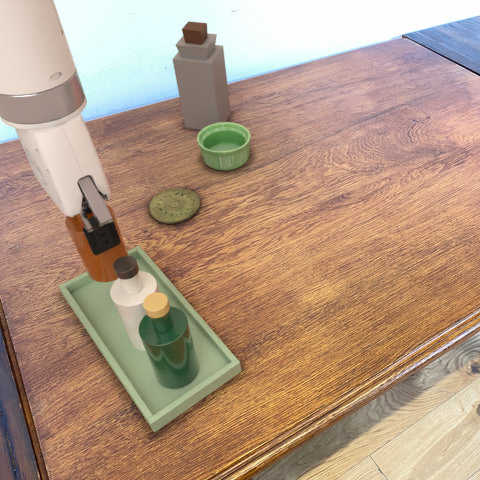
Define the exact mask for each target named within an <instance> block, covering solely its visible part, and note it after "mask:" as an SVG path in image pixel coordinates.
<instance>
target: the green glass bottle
mask: <svg viewBox="0 0 480 480" xmlns="http://www.w3.org/2000/svg"><path fill="white" fill-rule="evenodd" d="M143 307H144V309H145V312H146V315H145V316H144V317H143V318H142V320H141V322H140V324H139V335H140V338H141V340H142V343H143V345H144V348H145V350H146V353H147V356H148V358H149V361H150V363H151V366H152V368H153V371H154V373H155V376H156V378H157V381H158V382H159V383H160V384H161V385H162V386H163V387H166V388H169V389H179V388H183V387H185V386H187V385H189V384H190V383H191V382H192V381H193V380H194V379H195V378H196V376H197V375H198V372H199V361H198V357H197V354H196V350H195V346H194V342H193V339H192V335H191V331H190V327H189V323H188V320H187V317H186V315H185V313H184V312H183V311H182V310H180V309H178V308H176V307H172V306H170V304H169V301H168V298H167V296H166V295H165V294H163V293H160V292H155V293H152V294H150V295H148V296H147V297H146V298H145V299H144V302H143Z"/></svg>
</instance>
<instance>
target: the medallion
mask: <svg viewBox="0 0 480 480" xmlns="http://www.w3.org/2000/svg"><path fill="white" fill-rule="evenodd" d="M201 203H202V202H201V197H200V196H199V194H198V193H196V191H195V192H194V191H193V190H190V189H188V188H184V187H183V188H182V187H176V188H175V187H173V188H170V189H167V190H163V191H160V192H158V193H157V194H156V195H154V196H153V197H152V199H151V200H150V201H149V204H148V212H149V213H150V215H151V217H152V218H153V219H154V220H155V221H157V222H159V223H162V224H165V225H175V224H179V223H182V222H185V221H187V220H189V219H190V218H191V217H193V216H195V214H196V213H197V212H198V211H199V209H200V207H201Z"/></svg>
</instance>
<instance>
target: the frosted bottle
mask: <svg viewBox="0 0 480 480" xmlns="http://www.w3.org/2000/svg"><path fill="white" fill-rule="evenodd" d="M113 268H114V271H115V273H116V276H117V277H118V279H117V280H116V281H115V282H114V283H113V285H112V287H111V290H110V295H111V298H112V301H113V303H114V305H115V308H116V310H117V312H118V315H119V317H120V319H121V322H122V324H123V327H124V329H125V331H126V334H127V336H128V338H129V341H130V343H131V345H132V346H133V347H134V348H136V349H137V350H140V351H146V350H145V348H144V345H143V343H142V340H141V338H140V335H139V324H140V322H141V320H142V318H143V317H144V316H145V315H146V312H145V309H144V307H143V302H144V299H145V298H146V297H147V296H148V295H150V294H152V293H155V292H160V291H159V288H158V285H157V281H156V279H155V278H154V276H153V275H151V274H150V273H147V272H144V271H139V266H138V263H137V261H136V259H135V258H134V257H132V256H122V257H120V258H118V259H117V260H116V261H115V262H114V264H113Z"/></svg>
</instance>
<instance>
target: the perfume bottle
mask: <svg viewBox="0 0 480 480" xmlns="http://www.w3.org/2000/svg"><path fill="white" fill-rule="evenodd" d="M181 32H182V36H181V37H180V39H179V40H178V41H177V42H176V43H175V48H176V49H177V51H178V52H176V54H175V55H174V57H173V58H172V64H173V70H174V75H175V80H176V86H177V90H178V95H179V96H178V97H179V102H180V106H181V107H180V108H181V112H182V117H183V122H184V128H185V129H191V130H199V131H201V130H202V129H203V128H205V127H207V126H209V125H211V124H215V123H220V122H227V121H228V119H229V117H230V115H231V113H232V112H231V104H230V95H229V87H228V77H227V69H226V60H225V59H226V58H225V50H224V45H221V44H217V36H218V35H217V34H218V33H208V23H207V22H199V21H190V20H189V21H187V22H186V24H185V25H184V26H183V27H182V29H181Z"/></svg>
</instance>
